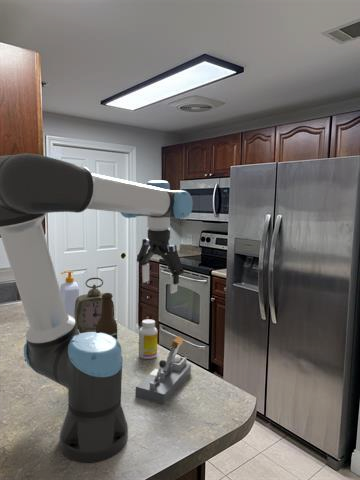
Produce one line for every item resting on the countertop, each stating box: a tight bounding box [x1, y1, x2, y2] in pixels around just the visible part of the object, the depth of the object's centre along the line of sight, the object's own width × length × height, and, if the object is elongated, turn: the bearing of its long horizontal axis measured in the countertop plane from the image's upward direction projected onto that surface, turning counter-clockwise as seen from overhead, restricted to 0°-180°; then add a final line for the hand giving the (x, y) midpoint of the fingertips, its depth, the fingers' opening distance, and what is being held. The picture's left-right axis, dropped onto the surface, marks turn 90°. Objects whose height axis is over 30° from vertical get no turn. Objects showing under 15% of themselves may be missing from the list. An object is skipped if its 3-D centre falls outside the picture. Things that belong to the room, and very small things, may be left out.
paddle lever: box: [162, 336, 184, 375], centre depth 103 cm, size 2×4×12 cm, turn 157°
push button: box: [173, 354, 182, 363], centre depth 110 cm, size 4×4×2 cm
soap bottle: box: [59, 270, 80, 319], centre depth 158 cm, size 9×7×23 cm
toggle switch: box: [154, 359, 166, 385], centre depth 97 cm, size 2×2×8 cm
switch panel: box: [135, 356, 192, 406], centre depth 104 cm, size 9×20×5 cm, turn 157°
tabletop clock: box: [74, 277, 115, 334], centre depth 137 cm, size 14×9×25 cm, turn 114°
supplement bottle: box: [138, 318, 159, 360], centre depth 123 cm, size 7×7×13 cm
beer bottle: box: [96, 292, 118, 340], centre depth 116 cm, size 8×8×24 cm
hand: (159, 286), depth 120 cm, fingers open, 13 cm apart
